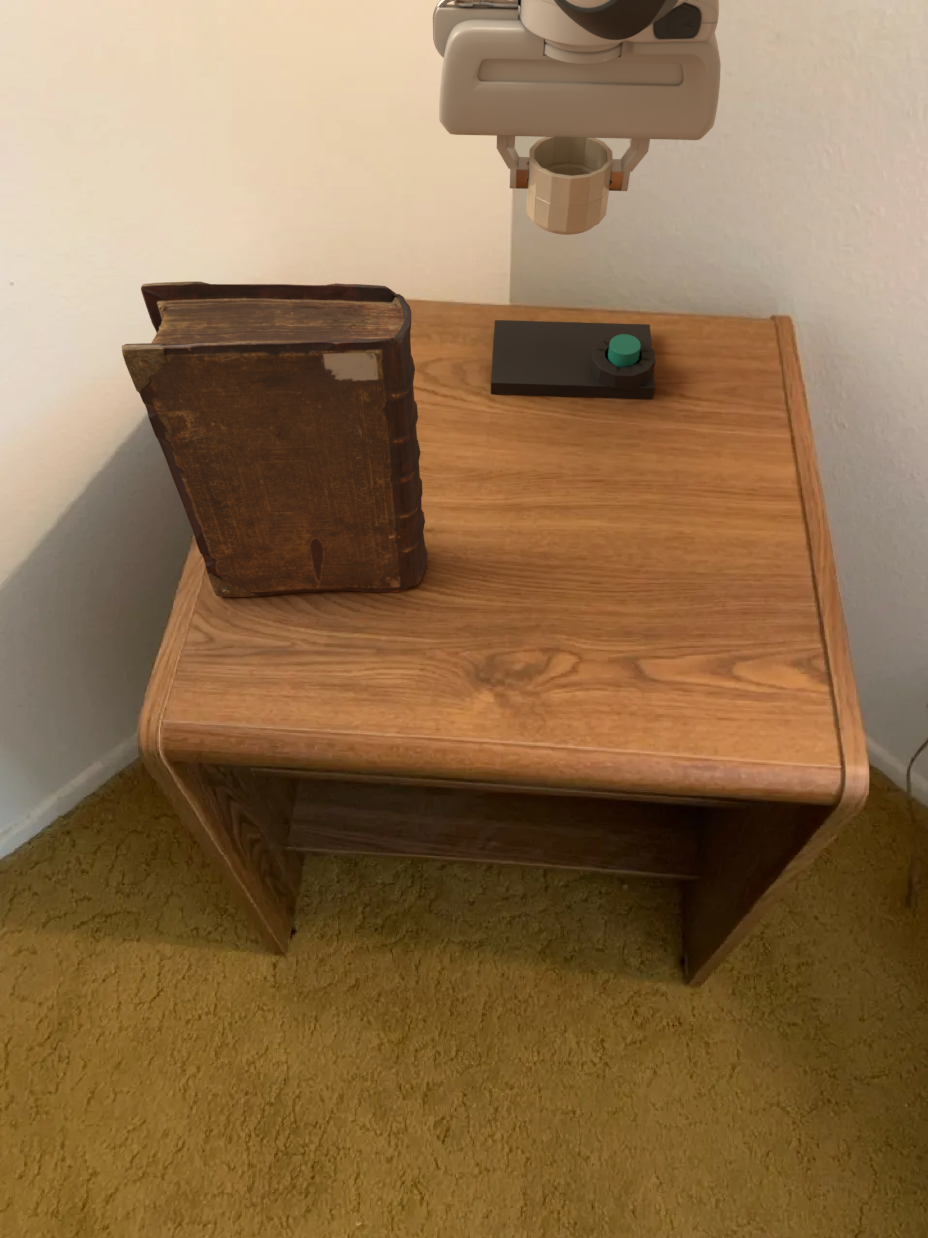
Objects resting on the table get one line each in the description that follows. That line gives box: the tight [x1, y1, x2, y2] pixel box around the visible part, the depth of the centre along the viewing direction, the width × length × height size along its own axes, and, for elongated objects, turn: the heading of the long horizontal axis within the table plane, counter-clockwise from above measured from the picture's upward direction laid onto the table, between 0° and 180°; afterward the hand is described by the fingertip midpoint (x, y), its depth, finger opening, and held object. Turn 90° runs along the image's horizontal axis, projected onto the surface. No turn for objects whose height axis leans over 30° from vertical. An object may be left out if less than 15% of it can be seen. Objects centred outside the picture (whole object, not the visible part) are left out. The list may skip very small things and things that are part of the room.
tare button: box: [608, 334, 641, 367], centre depth 84 cm, size 3×3×2 cm
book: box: [121, 281, 429, 598], centre depth 64 cm, size 17×7×25 cm, turn 85°
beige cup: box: [525, 137, 614, 236], centre depth 73 cm, size 6×6×5 cm
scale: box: [490, 319, 656, 400], centre depth 87 cm, size 15×9×3 cm, turn 87°
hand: (568, 185), depth 73 cm, fingers closed on beige cup, 6 cm apart
